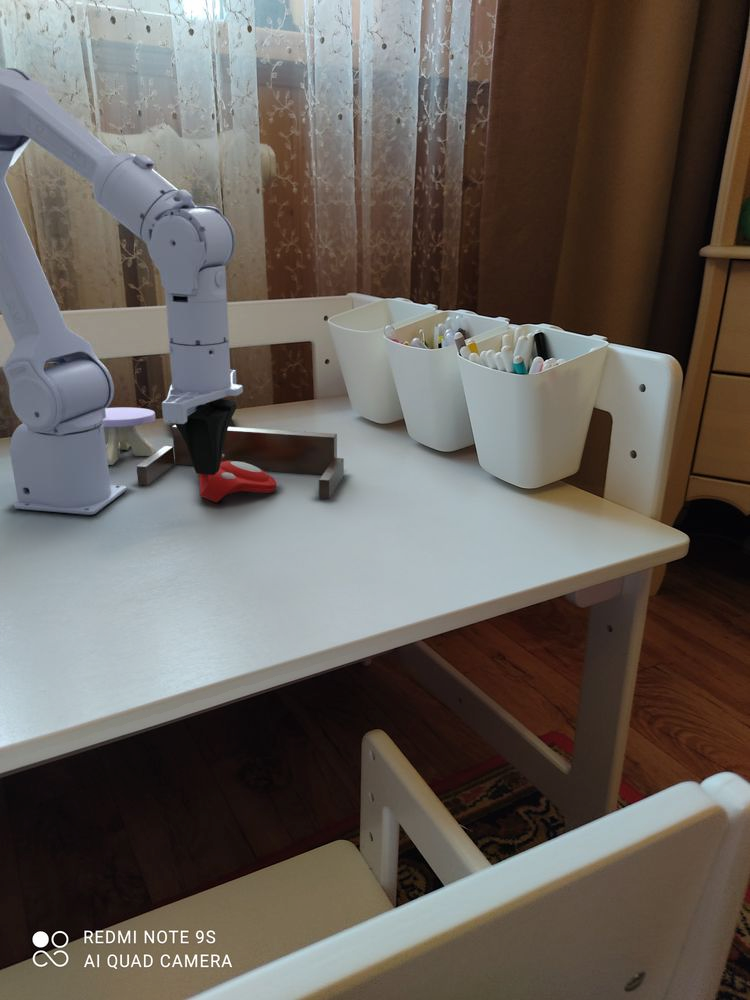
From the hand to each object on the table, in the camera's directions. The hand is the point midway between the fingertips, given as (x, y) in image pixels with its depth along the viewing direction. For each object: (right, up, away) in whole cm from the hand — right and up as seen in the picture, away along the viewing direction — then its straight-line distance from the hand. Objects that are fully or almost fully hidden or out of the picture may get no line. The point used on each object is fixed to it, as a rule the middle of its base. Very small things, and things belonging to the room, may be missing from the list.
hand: (207, 472), depth 80 cm
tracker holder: (0, -2, +12) cm, 12 cm away
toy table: (-16, +3, +23) cm, 28 cm away
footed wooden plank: (+1, 0, +15) cm, 15 cm away
